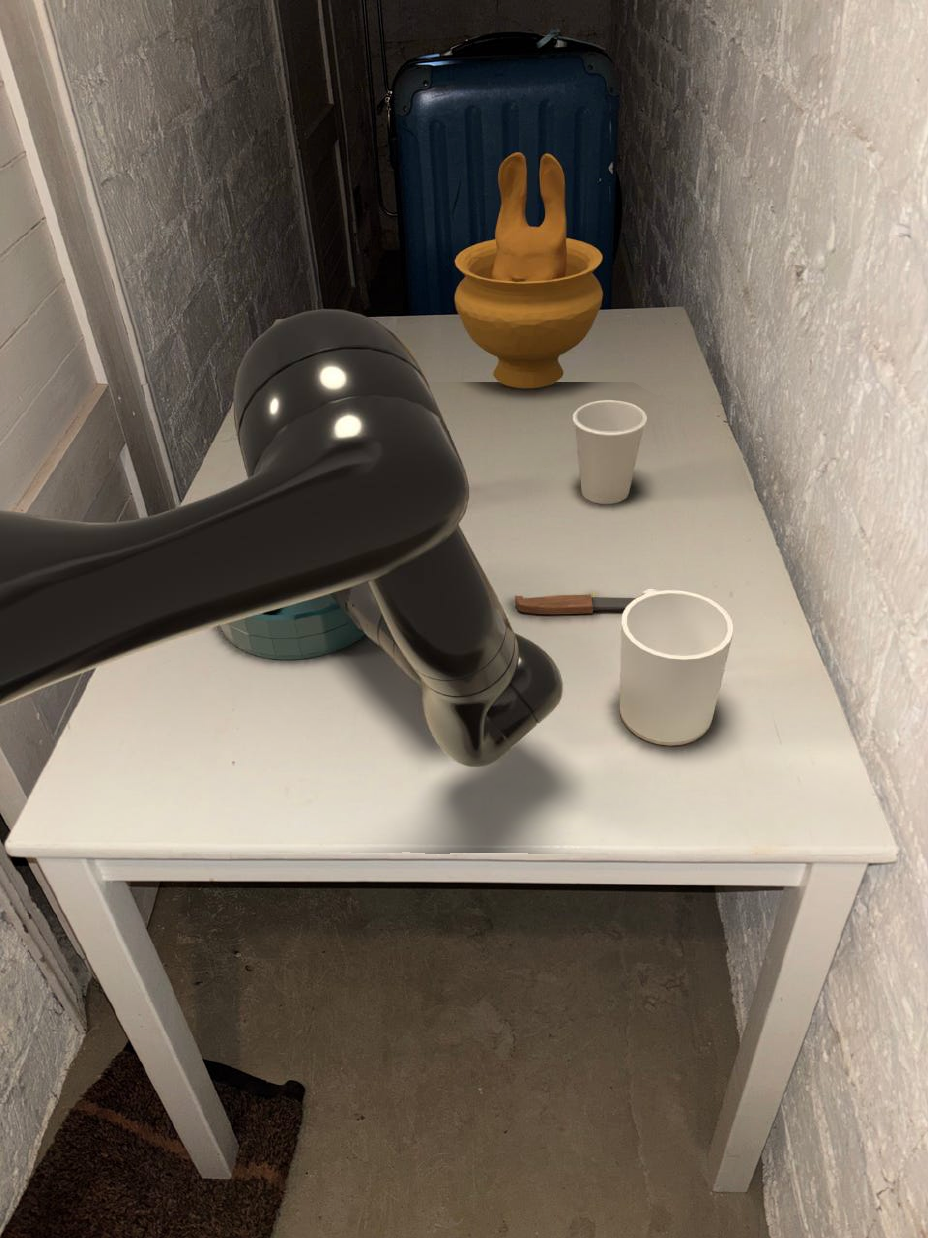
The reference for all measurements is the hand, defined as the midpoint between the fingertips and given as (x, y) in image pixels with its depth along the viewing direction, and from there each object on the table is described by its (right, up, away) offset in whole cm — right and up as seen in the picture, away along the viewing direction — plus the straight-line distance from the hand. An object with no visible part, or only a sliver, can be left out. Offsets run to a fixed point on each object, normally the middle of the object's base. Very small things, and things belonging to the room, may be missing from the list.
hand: (305, 513), depth 91 cm
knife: (+30, -9, +1) cm, 31 cm away
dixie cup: (+33, +5, +19) cm, 38 cm away
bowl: (-1, -9, +4) cm, 10 cm away
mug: (+34, -19, -10) cm, 40 cm away
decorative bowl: (+26, +26, +46) cm, 59 cm away
